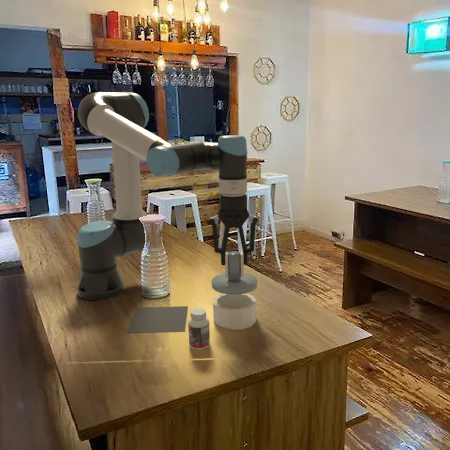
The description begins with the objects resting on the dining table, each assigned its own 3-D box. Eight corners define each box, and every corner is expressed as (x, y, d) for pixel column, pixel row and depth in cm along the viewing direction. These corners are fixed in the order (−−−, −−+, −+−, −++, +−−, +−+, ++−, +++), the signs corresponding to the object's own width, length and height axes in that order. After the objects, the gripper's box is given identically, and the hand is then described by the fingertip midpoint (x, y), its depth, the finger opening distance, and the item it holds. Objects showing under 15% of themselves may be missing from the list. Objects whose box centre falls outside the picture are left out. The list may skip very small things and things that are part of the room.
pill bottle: (184, 346, 118) (183, 312, 115) (199, 338, 122) (197, 304, 119) (200, 353, 114) (198, 318, 112) (214, 344, 118) (213, 310, 116)
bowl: (213, 330, 125) (213, 310, 124) (213, 310, 137) (213, 292, 136) (257, 329, 126) (257, 309, 124) (253, 309, 138) (253, 291, 136)
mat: (126, 334, 124) (126, 333, 124) (136, 308, 140) (136, 307, 139) (184, 332, 124) (184, 331, 124) (188, 307, 140) (187, 306, 140)
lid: (211, 295, 122) (210, 262, 120) (211, 277, 135) (210, 247, 132) (259, 293, 122) (259, 260, 120) (255, 276, 135) (255, 245, 132)
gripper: (202, 197, 118) (204, 281, 124) (265, 195, 118) (265, 279, 124) (202, 192, 125) (205, 271, 131) (262, 190, 126) (262, 269, 132)
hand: (234, 275), depth 128 cm, fingers closed on lid, 4 cm apart
